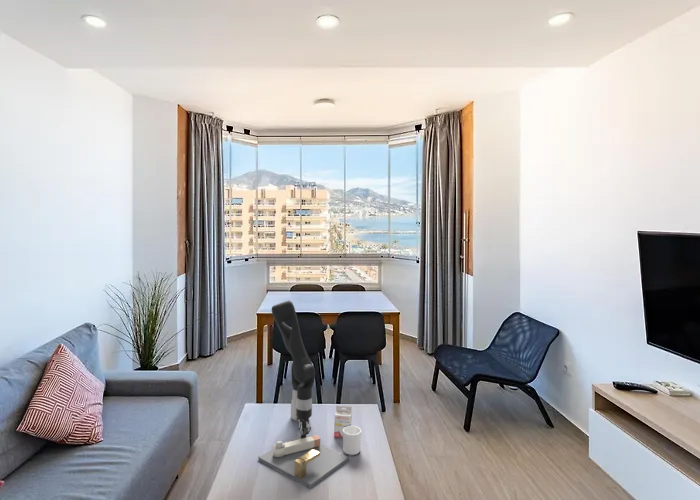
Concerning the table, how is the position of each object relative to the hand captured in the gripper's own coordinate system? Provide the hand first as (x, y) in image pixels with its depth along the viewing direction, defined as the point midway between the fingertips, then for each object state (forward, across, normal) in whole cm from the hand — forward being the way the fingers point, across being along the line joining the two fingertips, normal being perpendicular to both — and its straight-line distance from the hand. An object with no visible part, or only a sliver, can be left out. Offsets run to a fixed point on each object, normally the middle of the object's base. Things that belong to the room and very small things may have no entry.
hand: (303, 440), depth 199 cm
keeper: (+3, +21, -7) cm, 23 cm away
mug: (+3, +13, +20) cm, 24 cm away
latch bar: (+1, +4, -5) cm, 7 cm away
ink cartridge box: (+3, -1, +22) cm, 23 cm away
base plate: (+3, +11, -4) cm, 12 cm away
